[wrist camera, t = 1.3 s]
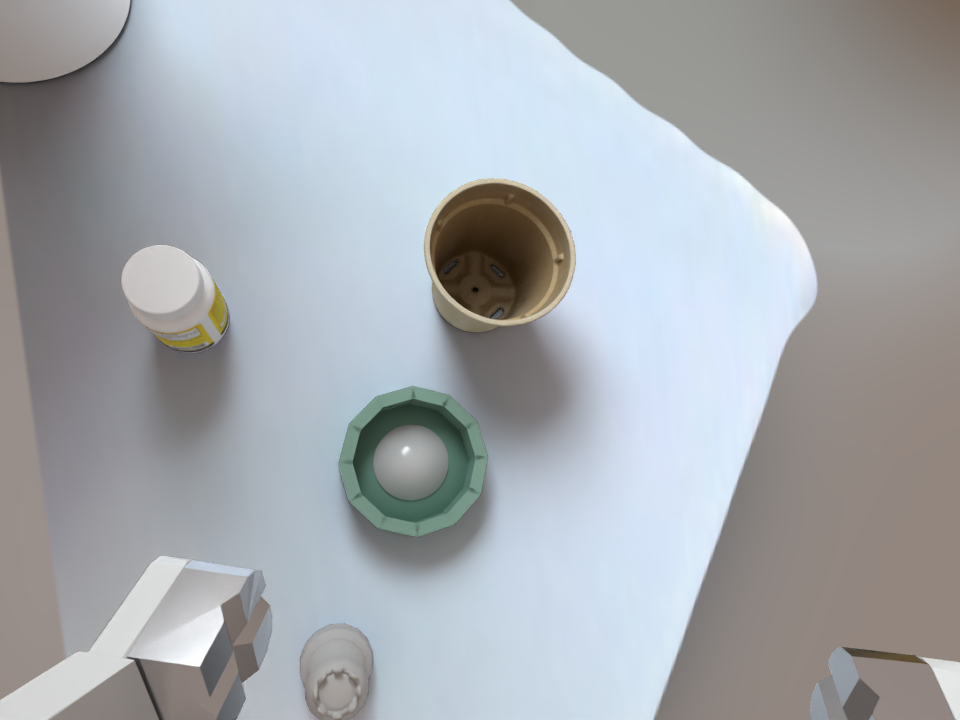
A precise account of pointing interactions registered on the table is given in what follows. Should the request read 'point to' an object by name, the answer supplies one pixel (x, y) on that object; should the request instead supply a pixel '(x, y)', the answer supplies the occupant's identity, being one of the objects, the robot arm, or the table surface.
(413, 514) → the bowl
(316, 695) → the rook chess piece
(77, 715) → the robot arm
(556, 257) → the flower pot
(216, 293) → the supplement bottle
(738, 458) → the table surface
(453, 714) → the table surface
